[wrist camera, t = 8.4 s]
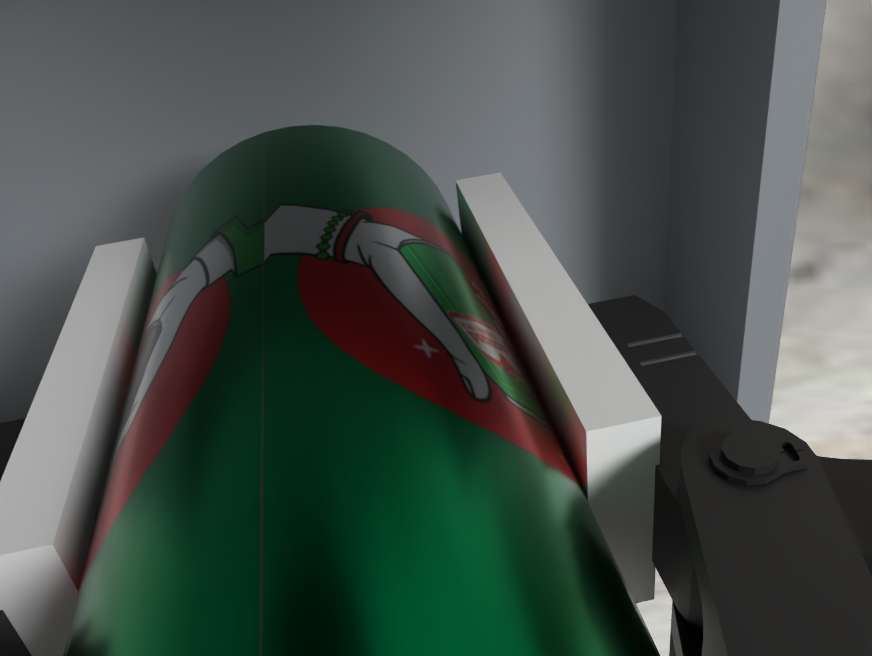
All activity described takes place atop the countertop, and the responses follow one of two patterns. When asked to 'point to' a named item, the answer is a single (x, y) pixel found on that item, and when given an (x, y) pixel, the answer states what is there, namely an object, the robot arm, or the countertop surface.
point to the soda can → (337, 437)
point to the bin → (427, 139)
